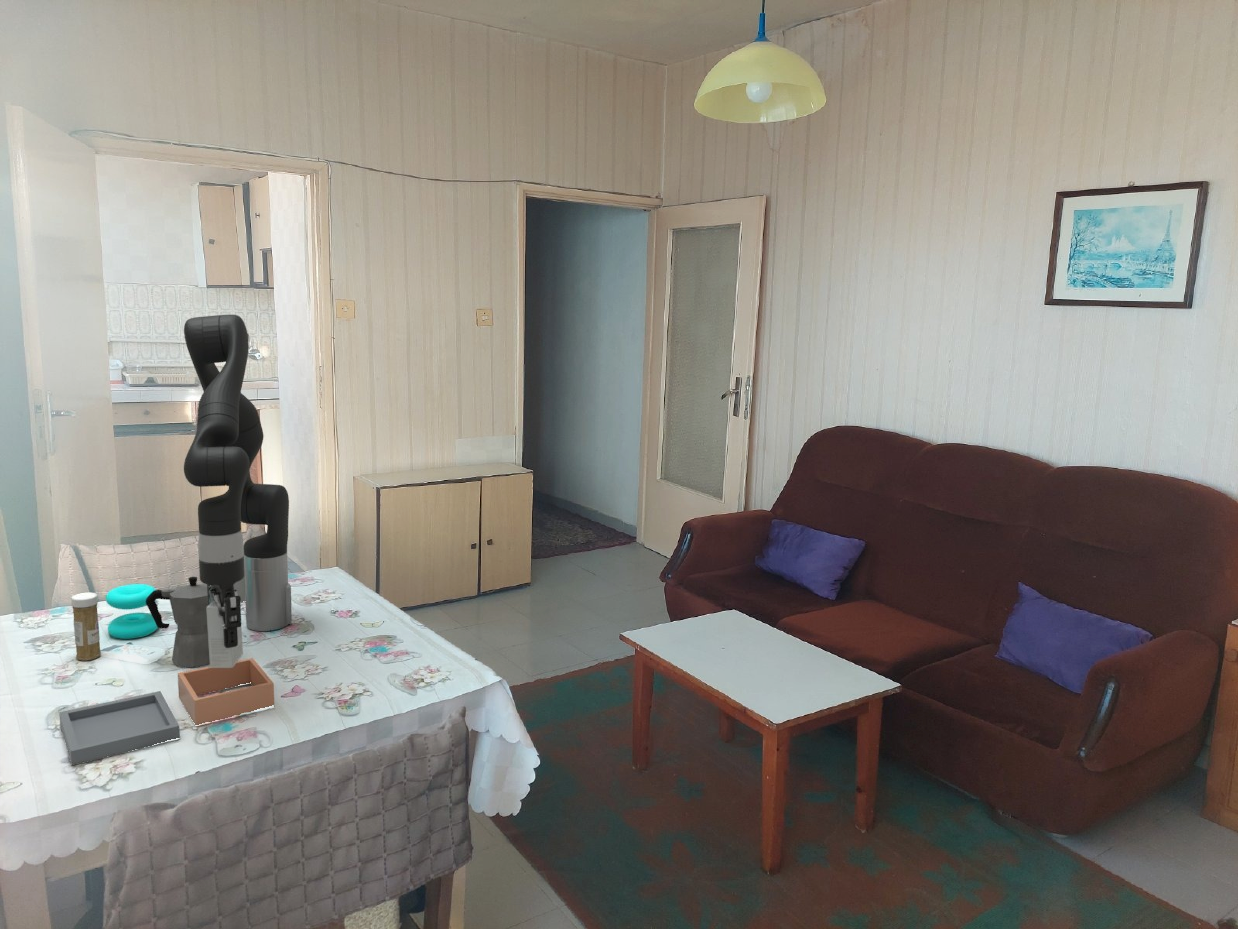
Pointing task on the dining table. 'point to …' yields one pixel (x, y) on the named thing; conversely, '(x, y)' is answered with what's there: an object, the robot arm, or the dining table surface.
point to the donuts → (132, 622)
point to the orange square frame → (227, 701)
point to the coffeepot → (186, 622)
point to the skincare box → (221, 640)
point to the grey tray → (117, 727)
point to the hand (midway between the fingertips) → (225, 639)
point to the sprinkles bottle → (86, 626)
